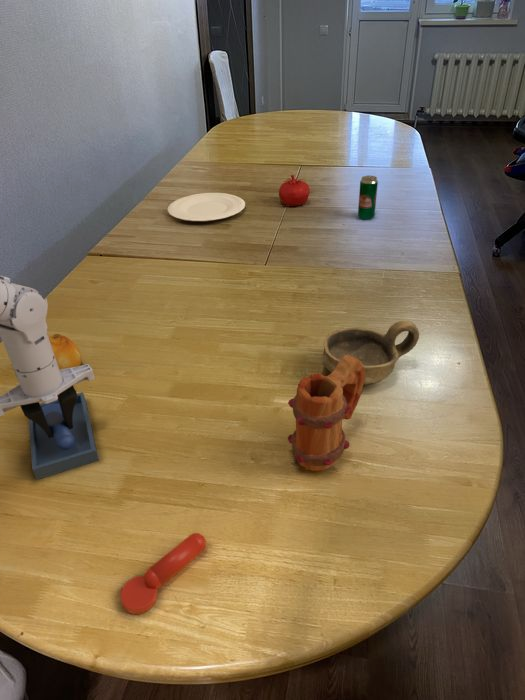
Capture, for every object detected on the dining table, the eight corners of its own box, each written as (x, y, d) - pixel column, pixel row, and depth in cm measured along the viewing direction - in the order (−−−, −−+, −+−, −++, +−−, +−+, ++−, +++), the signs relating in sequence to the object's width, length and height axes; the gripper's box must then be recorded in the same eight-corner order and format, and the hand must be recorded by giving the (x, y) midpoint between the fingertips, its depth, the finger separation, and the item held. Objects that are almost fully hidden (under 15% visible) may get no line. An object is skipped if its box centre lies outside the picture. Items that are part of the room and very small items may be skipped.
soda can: (354, 218, 157) (357, 178, 150) (362, 213, 160) (365, 174, 153) (369, 221, 154) (373, 181, 147) (377, 216, 158) (381, 176, 151)
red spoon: (194, 533, 69) (192, 521, 67) (215, 553, 67) (213, 541, 65) (115, 597, 62) (111, 585, 61) (135, 622, 60) (130, 610, 58)
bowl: (313, 353, 101) (315, 310, 95) (401, 345, 102) (407, 302, 96) (328, 399, 90) (330, 353, 84) (426, 390, 91) (435, 344, 85)
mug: (318, 489, 74) (322, 411, 65) (277, 460, 79) (275, 384, 70) (376, 435, 83) (386, 359, 74) (335, 412, 87) (340, 338, 79)
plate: (233, 228, 154) (233, 222, 153) (155, 223, 159) (154, 217, 158) (254, 199, 174) (253, 194, 173) (184, 196, 179) (183, 190, 178)
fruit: (97, 354, 100) (68, 322, 96) (70, 382, 94) (39, 349, 91) (74, 363, 105) (46, 333, 101) (47, 390, 99) (17, 359, 96)
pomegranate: (312, 207, 166) (312, 178, 160) (281, 210, 165) (281, 180, 159) (306, 197, 174) (306, 169, 168) (276, 199, 173) (276, 171, 167)
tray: (98, 460, 80) (95, 450, 79) (36, 479, 78) (32, 469, 76) (86, 401, 92) (83, 391, 90) (31, 416, 89) (27, 406, 88)
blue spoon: (83, 446, 80) (79, 434, 79) (56, 458, 78) (52, 446, 77) (60, 404, 89) (56, 393, 87) (35, 414, 87) (30, 403, 85)
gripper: (-15, 395, 68) (18, 465, 76) (92, 355, 74) (112, 424, 82) (-25, 369, 73) (6, 438, 80) (76, 333, 79) (96, 400, 87)
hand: (59, 429), depth 82 cm, fingers closed on blue spoon, 2 cm apart
